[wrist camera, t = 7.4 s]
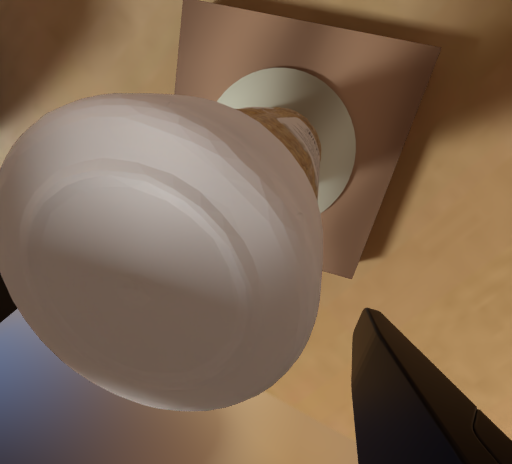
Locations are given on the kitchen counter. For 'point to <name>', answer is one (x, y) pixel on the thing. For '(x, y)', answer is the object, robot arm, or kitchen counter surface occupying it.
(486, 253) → the kitchen counter surface
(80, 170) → the sprinkles bottle
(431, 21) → the kitchen counter surface
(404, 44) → the walnut plinth
